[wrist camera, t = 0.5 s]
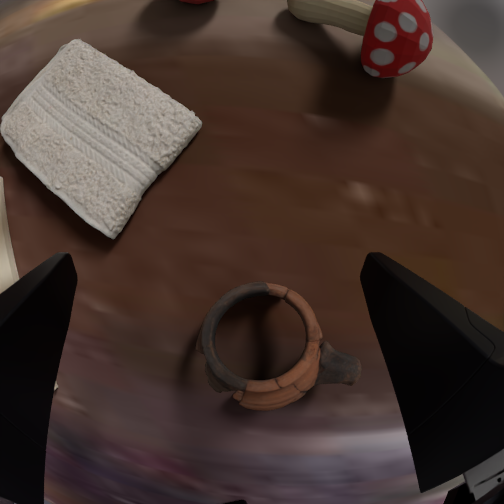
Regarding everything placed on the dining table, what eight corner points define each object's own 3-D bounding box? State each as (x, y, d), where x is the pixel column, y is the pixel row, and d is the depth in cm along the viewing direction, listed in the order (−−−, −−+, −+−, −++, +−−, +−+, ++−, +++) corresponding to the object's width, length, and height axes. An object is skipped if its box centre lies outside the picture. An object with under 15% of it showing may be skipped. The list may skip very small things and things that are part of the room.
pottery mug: (201, 397, 23) (173, 394, 16) (223, 297, 28) (207, 255, 21) (340, 418, 22) (372, 422, 15) (352, 315, 26) (382, 279, 19)
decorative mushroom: (272, -55, 15) (450, -6, 11) (318, -35, 21) (444, 9, 18) (252, 46, 23) (408, 107, 20) (299, 40, 30) (415, 88, 26)
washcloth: (78, 46, 21) (69, 29, 18) (209, 127, 23) (209, 111, 20) (3, 136, 20) (-14, 127, 17) (118, 242, 22) (106, 241, 19)
